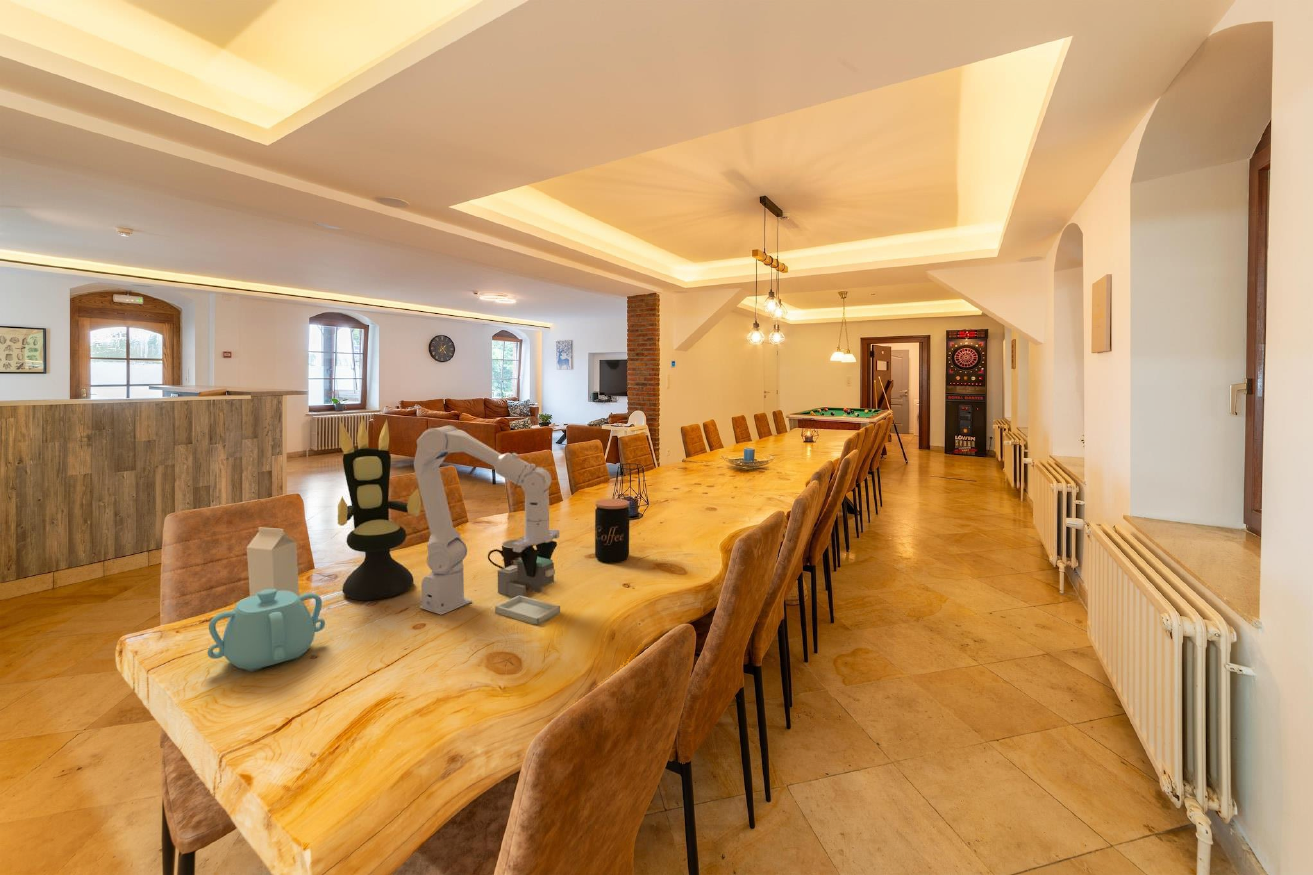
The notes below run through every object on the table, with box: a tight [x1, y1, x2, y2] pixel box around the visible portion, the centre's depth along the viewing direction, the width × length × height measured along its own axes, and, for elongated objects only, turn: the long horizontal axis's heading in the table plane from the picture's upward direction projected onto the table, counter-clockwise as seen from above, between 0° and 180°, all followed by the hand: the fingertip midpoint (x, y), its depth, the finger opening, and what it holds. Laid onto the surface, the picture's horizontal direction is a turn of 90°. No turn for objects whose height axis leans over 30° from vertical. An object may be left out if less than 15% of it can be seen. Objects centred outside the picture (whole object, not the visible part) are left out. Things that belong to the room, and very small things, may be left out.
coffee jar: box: [594, 498, 630, 564], centre depth 175 cm, size 11×11×18 cm
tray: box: [494, 595, 561, 626], centre depth 134 cm, size 8×13×2 cm, turn 60°
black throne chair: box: [337, 417, 422, 601], centre depth 146 cm, size 19×22×45 cm
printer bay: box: [497, 565, 543, 598], centre depth 147 cm, size 7×9×6 cm
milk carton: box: [246, 526, 300, 597], centre depth 136 cm, size 7×7×19 cm
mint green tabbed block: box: [517, 557, 556, 588], centre depth 136 cm, size 4×9×6 cm, turn 61°
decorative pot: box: [207, 589, 326, 672], centre depth 111 cm, size 16×16×14 cm
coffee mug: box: [487, 538, 521, 570], centre depth 157 cm, size 12×9×10 cm
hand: (537, 573), depth 136 cm, fingers closed on mint green tabbed block, 4 cm apart
